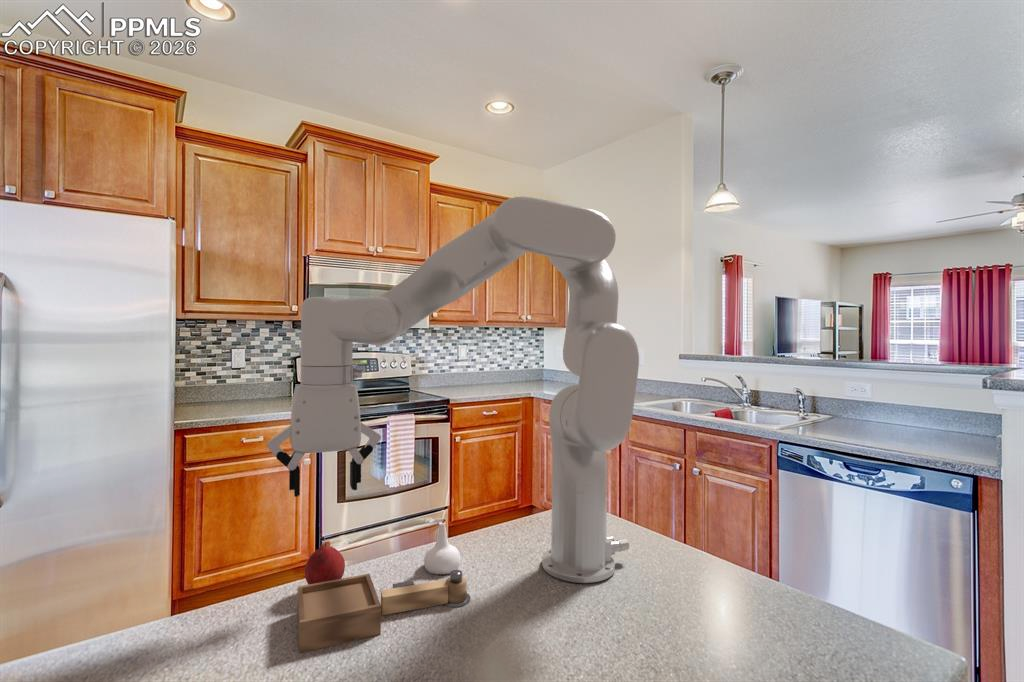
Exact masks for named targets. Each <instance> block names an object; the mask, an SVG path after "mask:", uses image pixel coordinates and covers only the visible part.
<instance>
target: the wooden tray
mask: <svg viewBox="0 0 1024 682" xmlns="http://www.w3.org/2000/svg"><path fill="white" fill-rule="evenodd" d="M374 585H375V584H374V583H373V580H372V578H371V574H370V573H366V574H361V575H355V576H350V577H349V576H348V577H342V578H341V579H337V580H331V581H326V582H320V583H315V584H309V585H308V584H303V585H297V603H296V604H297V606H296V607H297V630H298V632H297V633H298V651H299V654H300V653H305V652H311V651H313V650H318V649H323V648H327V647H331V646H332V647H333V646H335V645H340V644H345V643H347V642H348V643H349V642H353V641H358V640H362V639H365V638H370V637H375V636H378V635H381V634H382V611H381V601H380V599H379V597H378V593H377V591H376V588H375V586H374Z"/></svg>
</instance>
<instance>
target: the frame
mask: <svg viewBox="0 0 1024 682" xmlns="http://www.w3.org/2000/svg"><path fill="white" fill-rule="evenodd" d="M462 577H463V570H460V569H457V570H453V571H451V572H450V573H449V578H450V582H451V583H460V582H462ZM409 585H415V582H414V580H407V581H402V582H397V583H392V588H397V587H403V586H409ZM470 602H471V595H470V594H469V593H468V592H467V598H466V600H465V601H463V602H460V603H450V602H448V603H445V604H443V606H445V607H449V608H461V607H464V606H467V605H468V604H469V603H470Z"/></svg>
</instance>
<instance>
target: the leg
mask: <svg viewBox="0 0 1024 682" xmlns="http://www.w3.org/2000/svg"><path fill="white" fill-rule="evenodd" d="M467 582H468V580H467V578H466V577H464V576H462V582H460V583H451V582H450V577H448V578H446V579H440V580H434V581H428V582H422V583H416V584H415V583H414V585H409V586H403V587H397V588H393V587H392V588H385V589H381V590H380V604H381V616H385V615H391V614H396V613H397V614H398V613H403V612H406V611H407V612H408V611H413V610H418V609H424V608H427V607H429V608H430V607H434V606H439V605H444V604H445V603H448V602H450V603H460V602H463V601H465V600H466V598H467V593H468V591H467V589H468V588H467V587H468V585H467V584H468V583H467Z"/></svg>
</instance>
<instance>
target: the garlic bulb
mask: <svg viewBox="0 0 1024 682" xmlns="http://www.w3.org/2000/svg"><path fill="white" fill-rule="evenodd" d="M461 559H462V558H461V554H460V551H459V550H458V548H457V547H455V546H454V545H453V544H450V543H449V540H448V534H447V527H446V522H438V529H437V537H436V541H435V544H434V545H433V546H430V548H429V549H428V550H427V551H426V552H425V554H424V559H423V565H424V569H425V570H426V571H427V572H428V573H430V574H433V575H438V574H440V575H441V574H443V575H450V572H451V571H453V570H459V569H458V568H459V567H460V565H461V561H462V560H461ZM440 575H439V576H440Z"/></svg>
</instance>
